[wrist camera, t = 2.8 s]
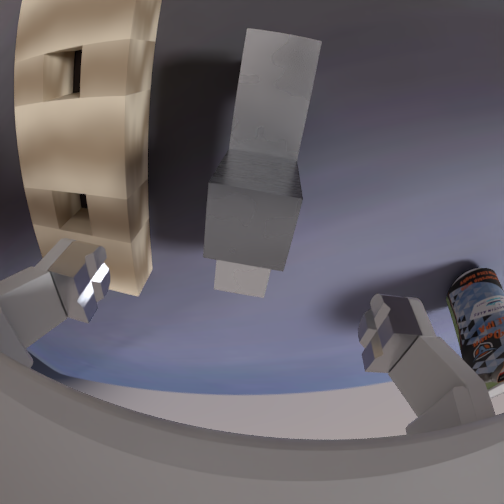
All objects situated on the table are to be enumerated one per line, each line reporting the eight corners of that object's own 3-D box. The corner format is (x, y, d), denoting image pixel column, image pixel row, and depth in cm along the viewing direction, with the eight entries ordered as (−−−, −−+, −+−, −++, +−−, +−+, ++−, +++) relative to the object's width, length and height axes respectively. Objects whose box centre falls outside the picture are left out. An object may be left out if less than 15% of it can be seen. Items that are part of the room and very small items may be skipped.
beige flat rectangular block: (52, -1, 10) (22, -2, 8) (167, -27, 11) (144, -42, 8) (65, 250, 25) (47, 272, 22) (152, 269, 25) (138, 296, 22)
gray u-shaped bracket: (257, 41, 14) (231, 9, 6) (308, 50, 14) (341, 28, 6) (229, 234, 22) (199, 342, 14) (268, 241, 22) (258, 353, 14)
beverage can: (497, 257, 20) (554, 351, 11) (472, 309, 25) (509, 399, 15) (452, 258, 21) (509, 369, 12) (429, 315, 25) (462, 416, 16)
